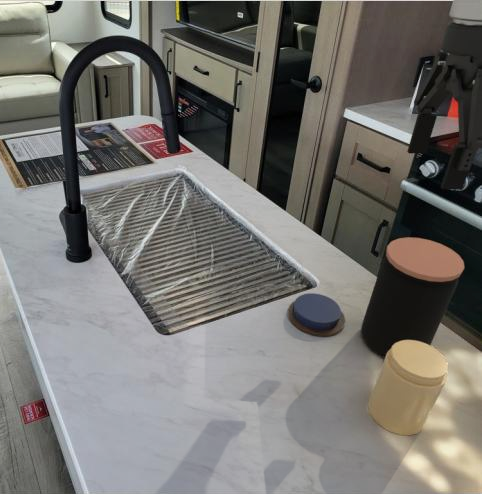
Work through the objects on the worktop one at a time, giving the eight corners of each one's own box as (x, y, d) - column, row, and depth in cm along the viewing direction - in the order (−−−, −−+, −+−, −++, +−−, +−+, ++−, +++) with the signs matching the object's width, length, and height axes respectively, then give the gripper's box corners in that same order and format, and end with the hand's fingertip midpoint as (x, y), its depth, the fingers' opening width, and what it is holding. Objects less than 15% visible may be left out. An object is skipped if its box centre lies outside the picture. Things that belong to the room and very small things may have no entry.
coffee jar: (420, 326, 85) (455, 242, 75) (432, 370, 76) (473, 282, 66) (357, 315, 87) (382, 232, 77) (362, 357, 79) (391, 270, 69)
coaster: (338, 301, 91) (338, 299, 90) (350, 338, 82) (351, 336, 82) (284, 298, 92) (285, 295, 91) (291, 334, 83) (292, 332, 83)
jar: (413, 393, 73) (438, 339, 66) (432, 437, 66) (461, 382, 60) (362, 389, 73) (381, 335, 67) (376, 433, 67) (399, 377, 61)
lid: (284, 304, 89) (285, 297, 88) (322, 297, 91) (324, 289, 90) (307, 334, 83) (309, 326, 82) (348, 325, 84) (350, 317, 83)
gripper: (570, 37, 52) (498, 207, 64) (466, 8, 73) (426, 140, 85) (498, 38, 53) (440, 206, 65) (415, 9, 74) (382, 140, 85)
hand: (432, 169), depth 75 cm, fingers open, 13 cm apart
